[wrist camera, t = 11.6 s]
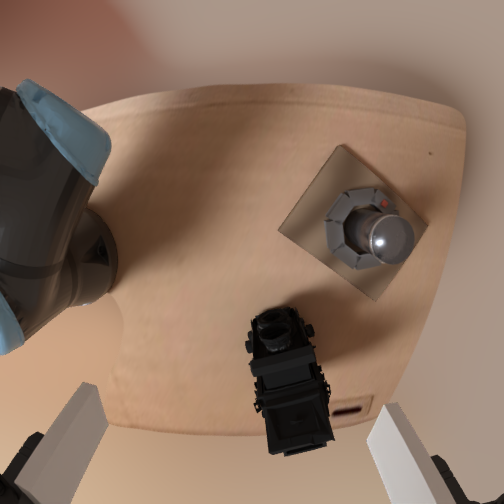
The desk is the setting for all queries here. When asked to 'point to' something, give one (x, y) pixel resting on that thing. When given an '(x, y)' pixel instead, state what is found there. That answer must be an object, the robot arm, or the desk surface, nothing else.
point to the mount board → (335, 213)
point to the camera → (289, 383)
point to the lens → (380, 235)
